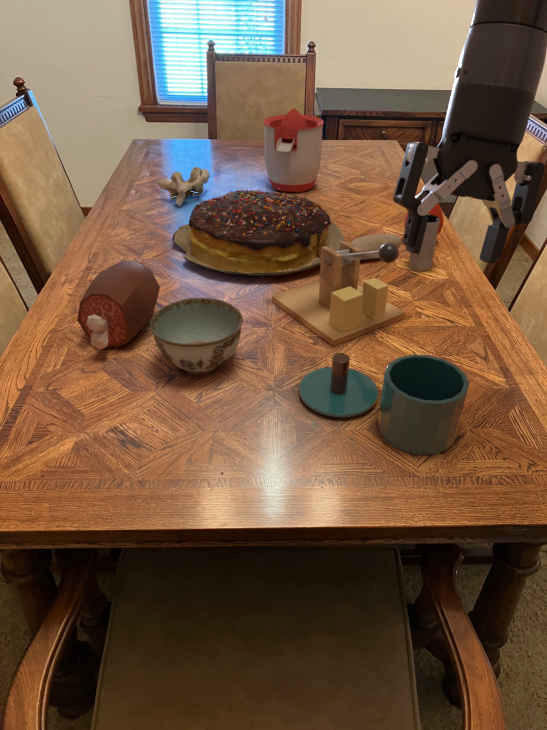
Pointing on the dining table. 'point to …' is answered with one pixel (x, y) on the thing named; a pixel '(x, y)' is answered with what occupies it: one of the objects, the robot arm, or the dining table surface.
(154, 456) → the dining table surface
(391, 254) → the ball tipped lever
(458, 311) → the dining table surface
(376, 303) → the yellow rectangular block
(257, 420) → the dining table surface
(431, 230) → the gray cylinder
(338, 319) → the pale yellow oblong block
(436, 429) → the crock
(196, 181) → the tan ginger root
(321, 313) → the wooden lever switch base
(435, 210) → the red egg
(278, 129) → the citrus juicer
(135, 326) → the meat
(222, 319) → the bowl
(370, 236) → the stone
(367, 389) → the crock lid
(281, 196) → the cake
